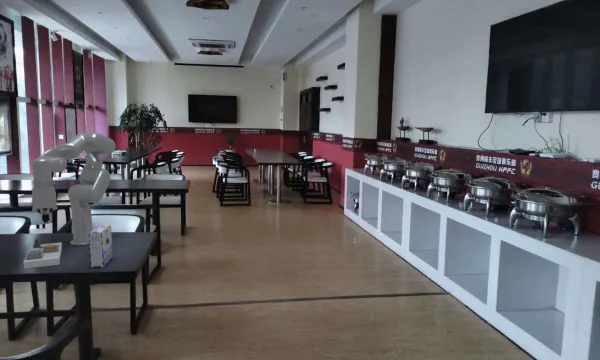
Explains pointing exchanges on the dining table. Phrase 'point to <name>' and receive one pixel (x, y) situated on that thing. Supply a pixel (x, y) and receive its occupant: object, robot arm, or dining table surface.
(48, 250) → the panel
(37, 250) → the grey button
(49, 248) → the terracotta button
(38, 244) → the dark slider
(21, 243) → the dining table surface
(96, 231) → the candy box
